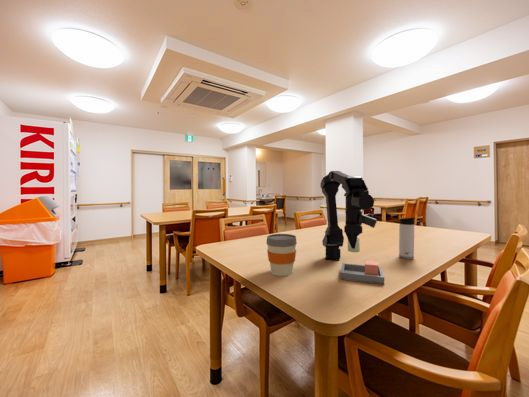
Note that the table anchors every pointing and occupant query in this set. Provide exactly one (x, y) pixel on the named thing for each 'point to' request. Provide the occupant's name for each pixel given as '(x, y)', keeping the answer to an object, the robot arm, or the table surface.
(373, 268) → the red cube
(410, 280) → the table surface
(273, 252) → the reusable coffee cup
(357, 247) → the green cylinder
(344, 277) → the serving tray
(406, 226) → the travel mug
